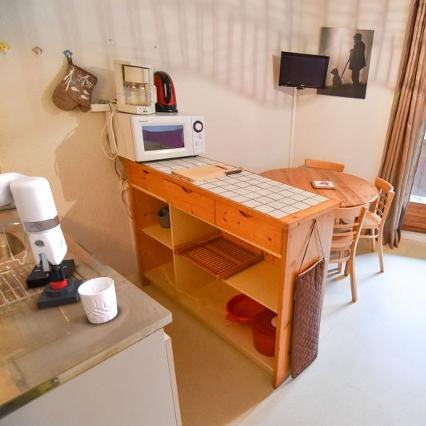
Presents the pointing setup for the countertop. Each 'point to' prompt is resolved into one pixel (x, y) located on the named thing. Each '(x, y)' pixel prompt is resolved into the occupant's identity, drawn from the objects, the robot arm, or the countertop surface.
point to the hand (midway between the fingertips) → (58, 279)
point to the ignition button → (58, 284)
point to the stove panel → (41, 278)
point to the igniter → (60, 294)
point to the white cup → (98, 299)
